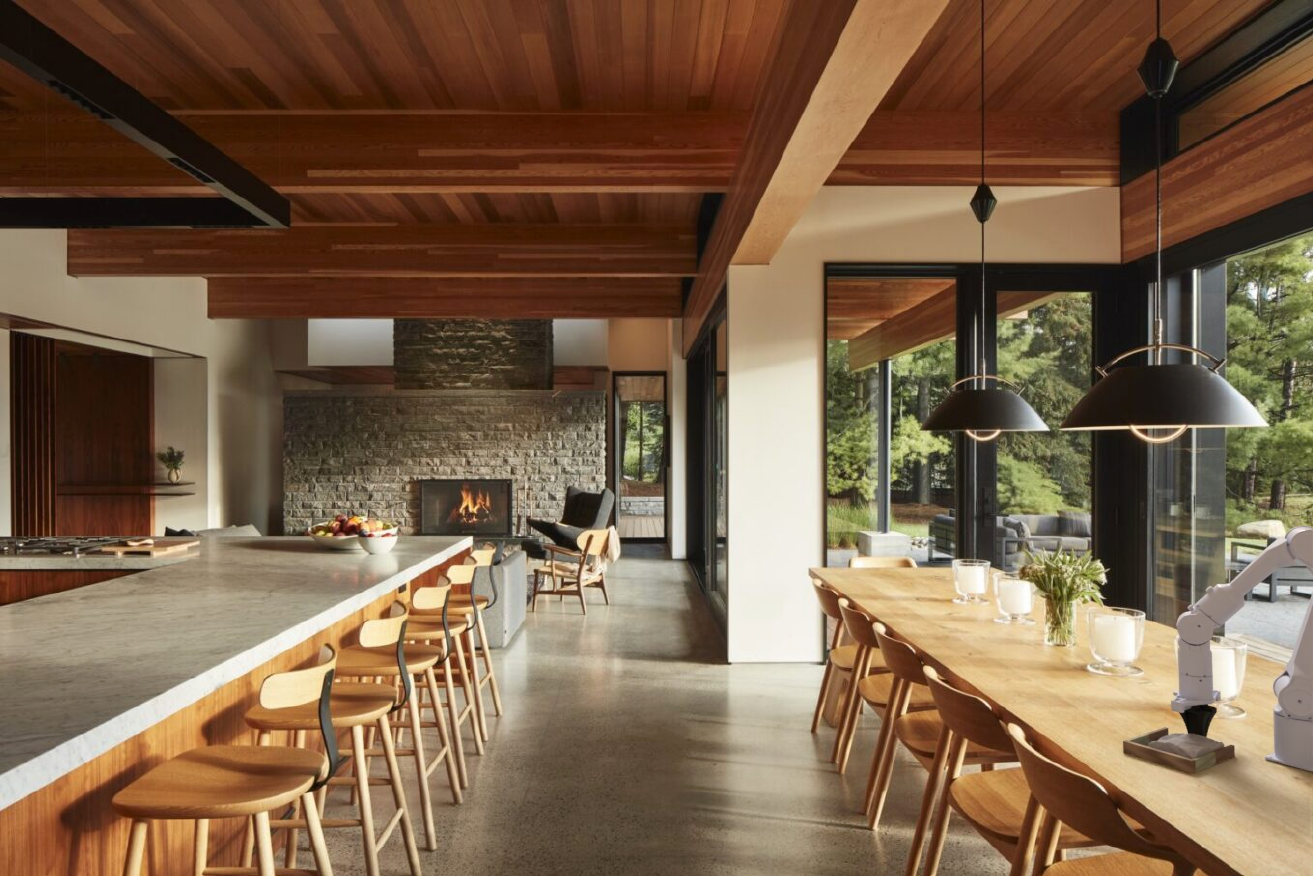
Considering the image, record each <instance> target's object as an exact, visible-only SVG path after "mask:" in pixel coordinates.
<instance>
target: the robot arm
mask: <svg viewBox="0 0 1313 876" xmlns="http://www.w3.org/2000/svg"><path fill="white" fill-rule="evenodd" d="M1295 560H1297V561H1299V562H1301V564H1303V565H1305V567H1306V568H1307V570H1308V571H1309V573H1310V574H1311V576H1313V526H1308V525H1298V526H1294V527H1292V528H1291V529H1289V530H1288V531H1287V532H1286V534H1285V535H1284V536H1283V535H1282V536H1280V537H1279V538H1277V539H1276V540H1274V541H1273V542H1272V543H1270V545H1268V546H1267V547H1265V549H1264V550H1262V551H1261V552H1260V553H1259V554H1258V555H1256V557H1255V558H1254V559H1253V560H1252V561H1251V562H1250V563H1249V564H1248V565H1247V566H1245V568H1244V569H1243V570H1241V572H1239V573H1238V575H1236V576H1235V577H1234V578H1233V579H1232V580H1231V581H1230V582H1229V583H1217V584H1216V585H1214V587H1213V586H1211V585H1209V586H1208V587H1207V588H1206V589H1205V592H1206V594H1204V595H1203V596H1202V597H1201V598H1200V599H1199V600H1198V601H1196V603H1195V604H1190V605H1188V606H1187V609H1188V611H1185V612H1182V613H1181V614H1180V615H1179V616H1178V618H1177V621H1176V623H1175V626H1176V630H1177V631H1176V632H1177V633H1178V639H1177V644H1178V648H1177V663H1178V664H1177V667H1178V668H1177V669H1178V670H1177V672H1178V690H1174V691H1173V692H1172V695H1173V696H1175V698H1174V699H1172V700H1170V709H1171V711H1172V712H1176V713H1178V714H1179V715H1180V717H1181V719H1182V720H1183V723H1184V726H1185V728H1186V731H1187V734H1196V735H1201V736H1205V737H1207V738H1208V731H1209V729H1210V725H1211V722H1212V721H1213V719H1214V717H1215V715H1216V714H1217V712H1218V708H1217V707H1215V706H1213V705H1214V703H1216V702H1221V698H1222V697H1221V691H1220V690H1216V689H1214V671H1213V651H1212V650H1211V640H1212V638H1213V635H1214V629H1219V628H1221V627H1222V626H1223V625H1224V624H1225V623H1227V622H1228V621H1229V620H1230V619H1231V618H1233V616H1234V615H1236V614H1237V613H1238V612H1240V610H1241V609H1242V608H1243V607H1245V599H1244V598H1245V595H1247V594H1248V593H1249V592H1250V591H1252V590H1253V589H1254V588H1255V587H1257V586H1258V585H1259V584H1260V583H1262V582H1263V581H1264V580H1265V579H1266V578H1268V577H1269V576H1270V575H1271V574H1273V573H1274V572H1275V571H1276V570H1278V569H1281V568H1288V567H1295V566H1296V567H1297V562H1296V561H1295ZM1310 596H1311V597H1310V599H1309V602H1308V604H1307V605H1308V606H1307V608H1306V611H1305V614H1304V617H1303V620H1302V624H1301V627H1300V630H1299V632H1298V635H1297V638H1296V642H1295V645H1294V648H1293V651H1292V654H1291V657H1290V659H1289V661H1287V663H1286V664H1285V668H1284V670H1283V672H1282V673H1281V674H1280V675H1279V676H1277V677H1276V678H1275V679H1274V681H1273V683H1272V690H1273V693H1274V695H1275V696H1276V698H1277V701H1278V702H1277V704H1276V705H1274V707H1273V708H1272V710H1273V712H1272V716H1273V743H1274V744H1273V745H1274V749H1273V750H1274V752H1272V753H1270V754H1267V755H1265V756H1264V759H1265V760H1267V761H1272V762H1275V763H1278V764H1279V763H1280V764H1282V765H1286V766H1290V767H1293V768H1298V769H1301V770H1304V771H1308V772H1311V773H1313V592H1312V593H1311V595H1310ZM1212 704H1213V705H1212Z"/></svg>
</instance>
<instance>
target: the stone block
mask: <svg viewBox="0 0 1313 876" xmlns="http://www.w3.org/2000/svg"><path fill="white" fill-rule="evenodd" d="M1148 747H1152V748H1155V749H1158V750H1162V751H1165V752H1169V753H1172V754H1176V755H1179V756H1183V757H1186V758H1190V759H1194V758H1196V757H1199V756H1202V755H1204V754H1207V753H1210V752H1213V751H1215V750H1218V749H1221V748H1223V747H1225V744H1224V742H1222V741H1217V740H1215V739H1212V738H1210V737H1208V736H1207V737H1205V736H1201V735H1196V734H1188V733H1183V732H1182V733H1169V735H1167V736H1164V737H1161V738H1160V739H1159V740H1158V741H1152V742H1149V744H1148Z"/></svg>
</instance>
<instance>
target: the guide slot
mask: <svg viewBox="0 0 1313 876" xmlns="http://www.w3.org/2000/svg"><path fill="white" fill-rule="evenodd" d="M1167 735H1170V733H1169V727H1165V726H1164V727H1161V728H1158V729H1156V730H1152V731H1150V732H1147V733H1143V734H1140V735H1138V736H1134V737H1131V738H1127V739H1125V740H1123V741H1122V752H1123V753H1124V754H1127V755H1130V756H1135V757H1137V758H1140V759H1144V760H1147V761H1151V762H1154V763H1158V764H1161V765H1162V766H1163V765H1164V766H1168V767H1171V768H1173V769H1177V770H1181V771H1184V772H1187V773H1191V774H1195V773H1198V772H1201V771H1202V770H1205V769H1208V768H1210V767H1213V766H1215V765H1218V764H1221V763H1223V762H1227V761H1228V760H1231V759H1233V758H1235V757H1236V753H1235V752H1236V751H1235V745H1234V744H1229V745H1226V746H1224V747H1223V748H1221V749H1218V750H1215V751H1213V752H1210V753H1207V754H1204V755H1202V756H1199V757H1196V758H1194V759H1190V758H1186V757H1183V756H1179V755H1176V754H1172V753H1169V752H1165V751H1162V750H1158V749H1155V748H1152V747H1148V744H1149V742H1152V741H1158V740H1159V739H1160V738H1161V737H1164V736H1167Z"/></svg>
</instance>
